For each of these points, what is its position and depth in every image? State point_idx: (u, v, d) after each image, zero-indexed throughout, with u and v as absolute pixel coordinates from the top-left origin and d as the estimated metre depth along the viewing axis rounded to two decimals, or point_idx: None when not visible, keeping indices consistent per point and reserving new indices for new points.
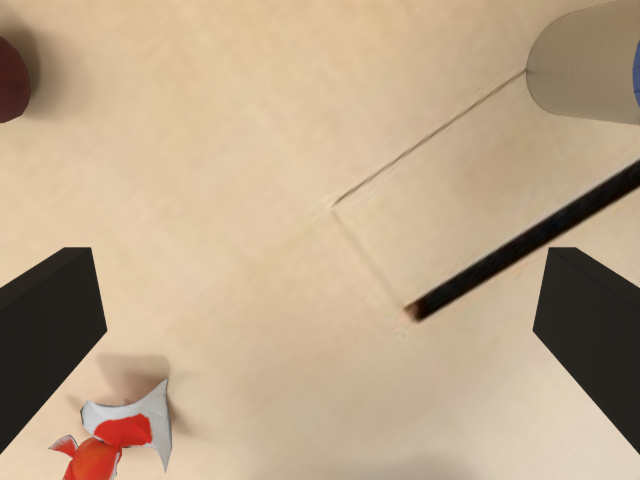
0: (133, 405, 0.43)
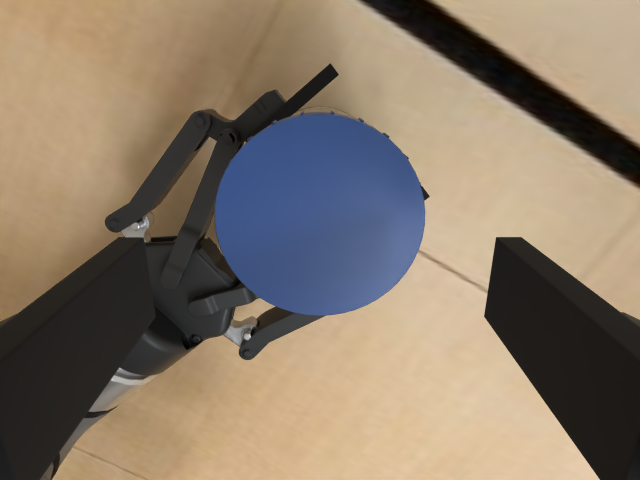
0: None
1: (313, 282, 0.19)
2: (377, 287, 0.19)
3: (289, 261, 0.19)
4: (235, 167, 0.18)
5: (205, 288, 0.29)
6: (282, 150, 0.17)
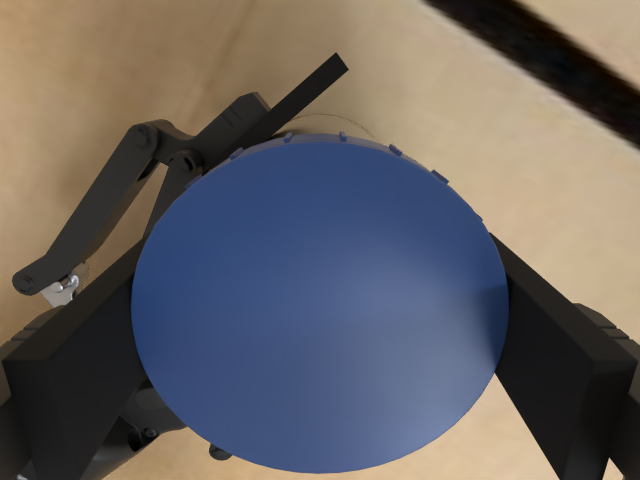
0: None
1: (308, 424, 0.11)
2: (418, 432, 0.11)
3: (266, 392, 0.11)
4: (163, 238, 0.09)
5: None
6: (249, 208, 0.09)
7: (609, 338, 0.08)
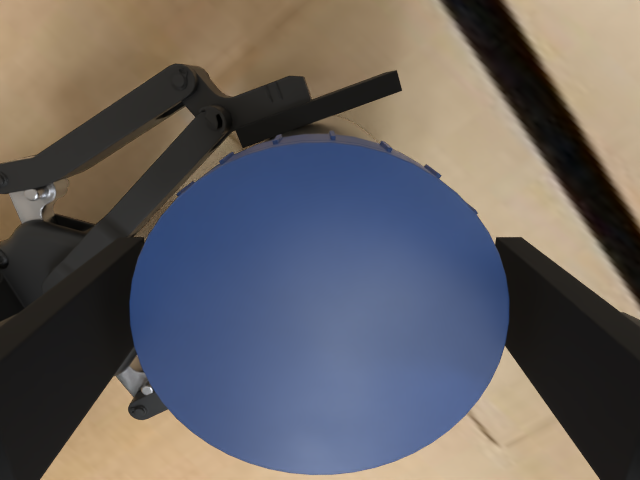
0: None
1: (415, 383, 0.11)
2: (486, 292, 0.10)
3: (360, 400, 0.11)
4: (177, 406, 0.11)
5: None
6: (174, 337, 0.10)
7: None
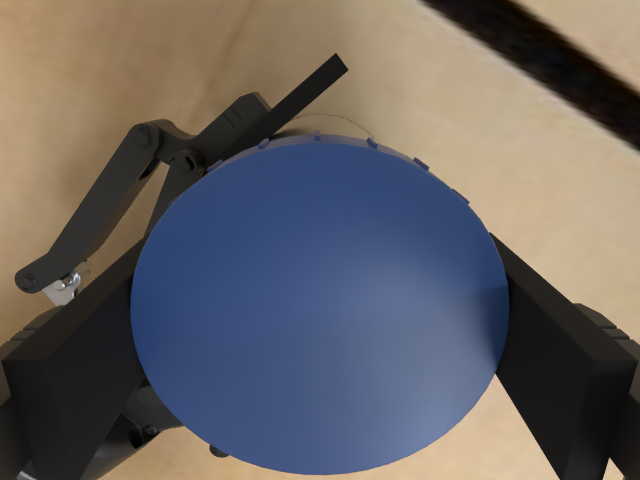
0: None
1: (432, 352, 0.10)
2: (467, 241, 0.09)
3: (385, 385, 0.11)
4: (218, 440, 0.11)
5: None
6: (190, 377, 0.11)
7: (609, 338, 0.08)
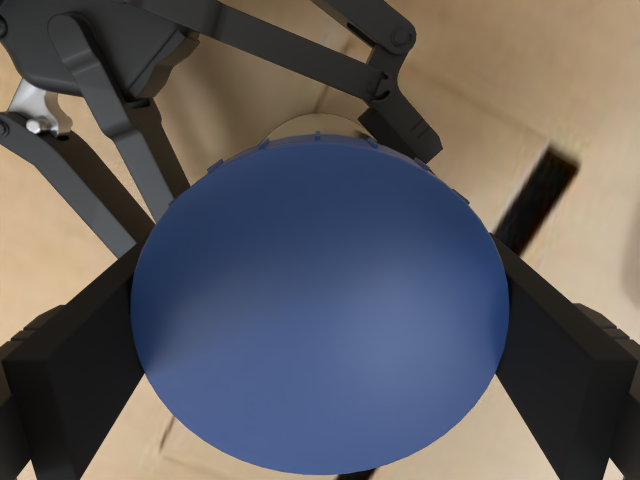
0: None
1: (432, 353, 0.10)
2: (467, 242, 0.09)
3: (385, 385, 0.11)
4: (218, 440, 0.11)
5: (109, 45, 0.16)
6: (190, 377, 0.11)
7: (609, 338, 0.08)
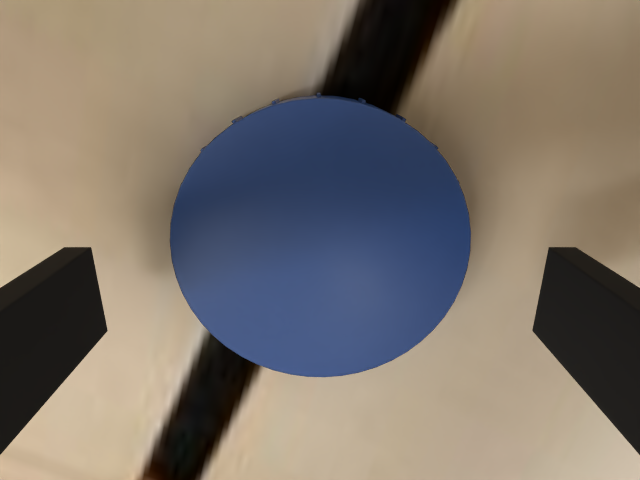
0: None
1: (409, 271, 0.13)
2: (435, 178, 0.12)
3: (372, 298, 0.13)
4: (238, 346, 0.14)
5: None
6: (217, 292, 0.13)
7: None
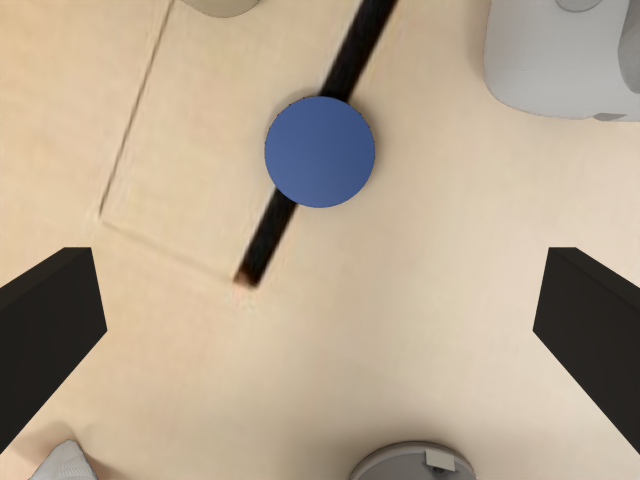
0: (34, 479, 0.43)
1: (352, 161, 0.35)
2: (360, 124, 0.34)
3: (339, 172, 0.36)
4: (287, 193, 0.36)
5: None
6: (280, 170, 0.36)
7: None
